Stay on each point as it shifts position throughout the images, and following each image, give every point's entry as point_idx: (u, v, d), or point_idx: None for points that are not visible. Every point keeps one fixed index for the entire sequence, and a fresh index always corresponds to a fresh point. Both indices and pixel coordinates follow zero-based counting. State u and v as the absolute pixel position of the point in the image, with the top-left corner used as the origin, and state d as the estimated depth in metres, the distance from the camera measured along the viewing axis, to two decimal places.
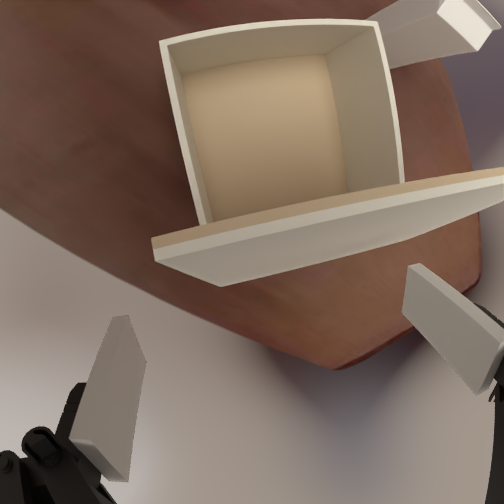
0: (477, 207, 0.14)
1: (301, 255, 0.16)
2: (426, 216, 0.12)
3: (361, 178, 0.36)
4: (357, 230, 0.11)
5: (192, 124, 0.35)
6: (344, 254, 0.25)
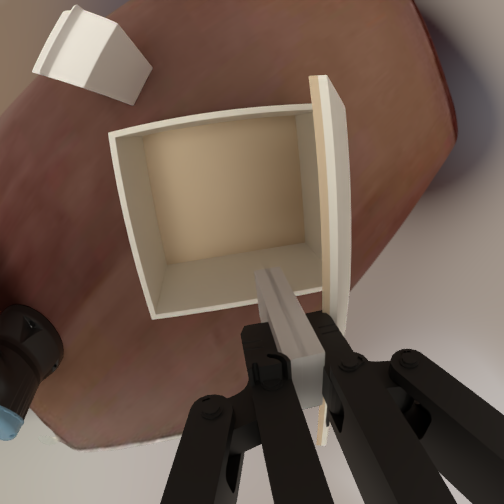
0: None
1: None
2: (343, 262, 0.16)
3: (274, 115, 0.35)
4: None
5: (211, 256, 0.45)
6: None
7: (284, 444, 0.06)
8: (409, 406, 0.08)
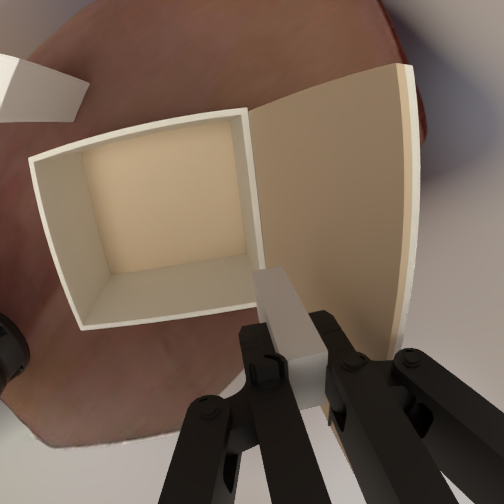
0: None
1: None
2: None
3: (198, 124, 0.33)
4: None
5: (151, 267, 0.44)
6: None
7: (281, 445, 0.06)
8: (411, 405, 0.08)
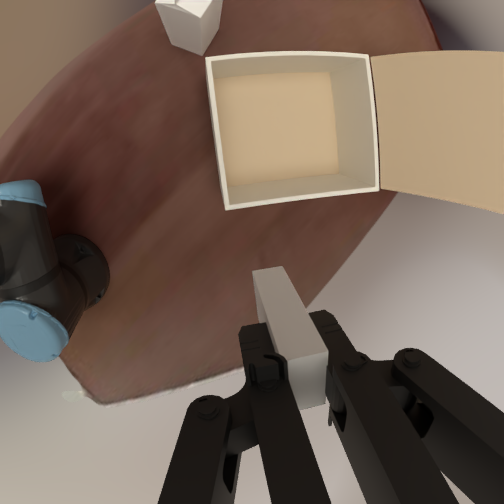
0: None
1: None
2: None
3: (317, 67, 0.42)
4: None
5: (263, 180, 0.52)
6: None
7: (281, 445, 0.06)
8: (412, 405, 0.08)
